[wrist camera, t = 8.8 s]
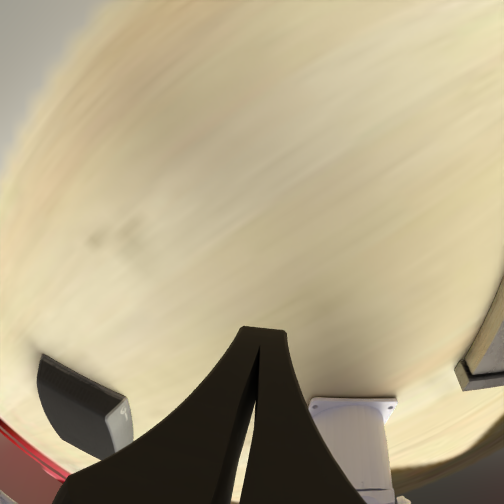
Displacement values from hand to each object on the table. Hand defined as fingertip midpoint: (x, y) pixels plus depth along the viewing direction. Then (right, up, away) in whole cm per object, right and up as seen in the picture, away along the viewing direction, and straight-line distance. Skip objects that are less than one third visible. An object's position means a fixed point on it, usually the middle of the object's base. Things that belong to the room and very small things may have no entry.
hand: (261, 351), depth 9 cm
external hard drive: (-22, -18, +24) cm, 37 cm away
